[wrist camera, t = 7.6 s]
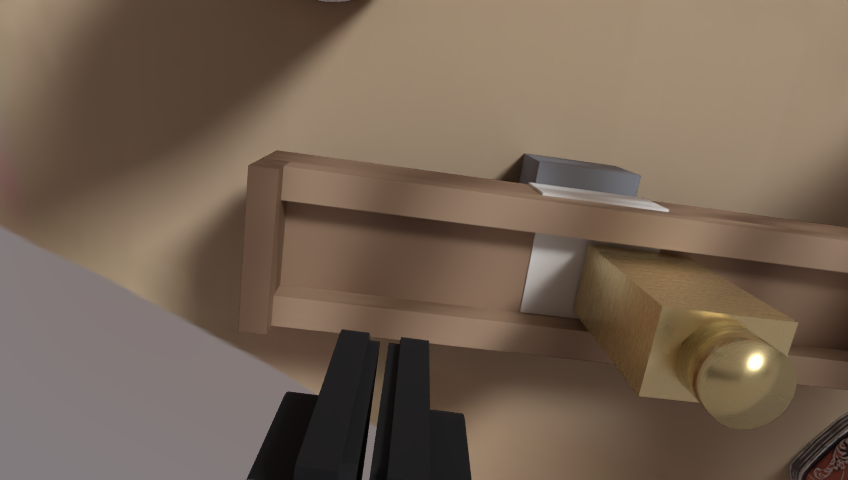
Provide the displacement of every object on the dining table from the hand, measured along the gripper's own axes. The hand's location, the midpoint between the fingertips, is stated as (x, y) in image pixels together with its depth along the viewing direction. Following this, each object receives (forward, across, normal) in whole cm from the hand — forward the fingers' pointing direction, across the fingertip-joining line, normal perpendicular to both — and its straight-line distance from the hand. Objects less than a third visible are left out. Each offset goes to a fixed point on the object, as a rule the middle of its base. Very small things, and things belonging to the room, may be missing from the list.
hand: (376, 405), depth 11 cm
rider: (+12, -9, +1) cm, 15 cm away
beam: (+17, -7, +1) cm, 19 cm away
